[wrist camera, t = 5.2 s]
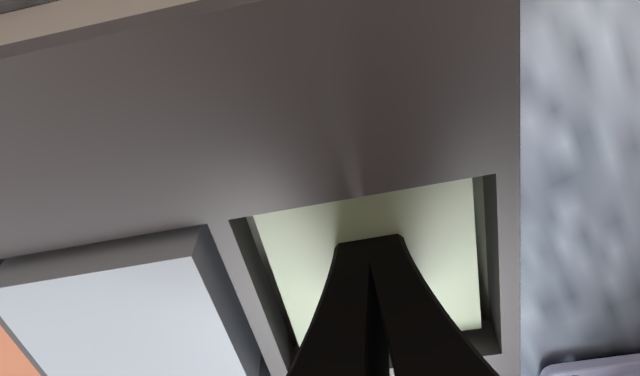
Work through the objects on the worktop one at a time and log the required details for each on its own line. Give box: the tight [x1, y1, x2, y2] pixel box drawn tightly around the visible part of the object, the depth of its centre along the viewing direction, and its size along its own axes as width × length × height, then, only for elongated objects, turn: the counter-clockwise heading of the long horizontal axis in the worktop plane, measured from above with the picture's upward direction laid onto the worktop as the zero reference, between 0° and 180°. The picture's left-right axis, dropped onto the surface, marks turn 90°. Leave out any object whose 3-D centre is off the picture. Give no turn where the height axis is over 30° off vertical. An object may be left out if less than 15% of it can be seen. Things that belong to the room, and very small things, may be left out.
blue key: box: [0, 224, 262, 376], centre depth 12 cm, size 4×4×2 cm
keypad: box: [0, 0, 520, 376], centre depth 13 cm, size 16×12×5 cm
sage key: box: [253, 178, 481, 347], centre depth 12 cm, size 4×4×2 cm
